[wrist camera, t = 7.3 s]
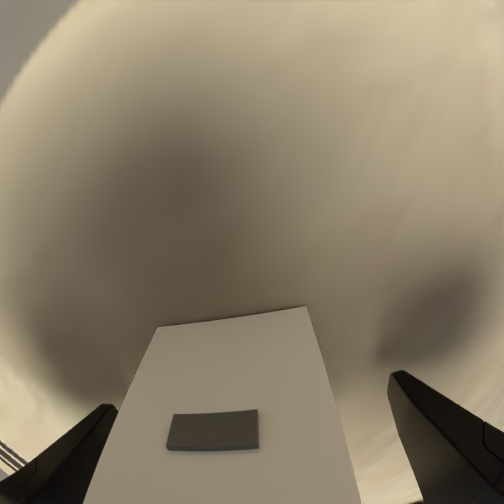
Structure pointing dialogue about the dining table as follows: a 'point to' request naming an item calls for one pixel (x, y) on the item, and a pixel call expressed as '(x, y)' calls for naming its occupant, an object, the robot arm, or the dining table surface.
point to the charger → (228, 420)
